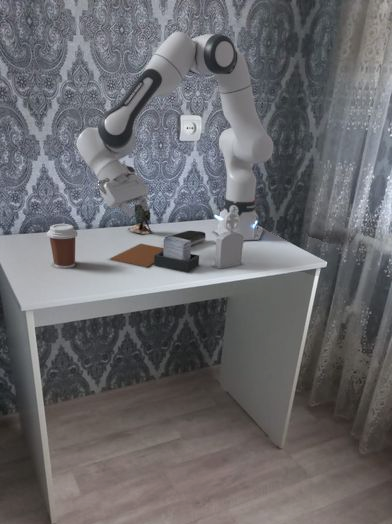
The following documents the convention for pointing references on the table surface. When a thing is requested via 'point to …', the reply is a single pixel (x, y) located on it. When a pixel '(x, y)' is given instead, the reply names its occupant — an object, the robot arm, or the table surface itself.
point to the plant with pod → (141, 220)
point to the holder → (176, 262)
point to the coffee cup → (63, 244)
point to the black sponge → (191, 236)
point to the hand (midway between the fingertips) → (140, 212)
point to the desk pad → (139, 255)
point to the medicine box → (177, 248)
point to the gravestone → (229, 243)
